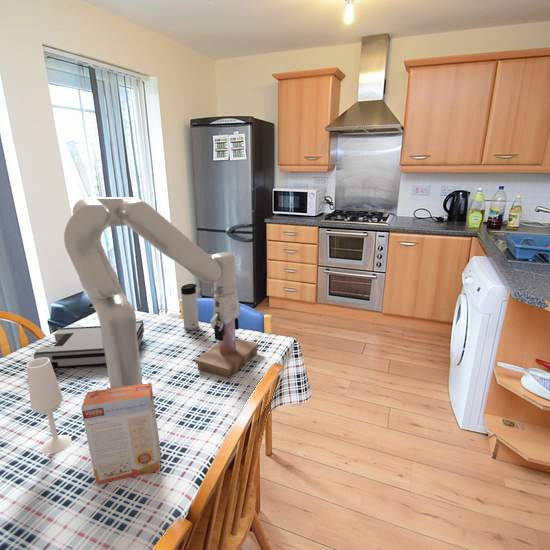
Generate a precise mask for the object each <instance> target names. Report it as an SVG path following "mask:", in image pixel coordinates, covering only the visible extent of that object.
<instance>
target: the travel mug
mask: <svg viewBox="0 0 550 550" xmlns="http://www.w3.org/2000/svg"><path fill="white" fill-rule="evenodd" d="M180 293H181V294H180V295H181V305H182V306H181V307H182V316H183V317H182V319H183V329H184V330H185V331H188V332H193V331H196V330H198V329H199V327H200V326H199V325H200V324H199V323H200V322H199V311H198V296H197V283H196V284H195V283H187V284H184V285H182V286H181V287H180Z"/></svg>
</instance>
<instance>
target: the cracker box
mask: <svg viewBox="0 0 550 550" xmlns="http://www.w3.org/2000/svg"><path fill="white" fill-rule="evenodd" d="M153 393H154V392H153V385H152V382H148V383H145V384H138V385H131V386H125V387H118V388H112V389H107V388H104V389H98V390H93V391H87V392H86V394H85V397H84V400H83V402H82V405H81V407H80V408H81V413H82V419H83V422H84V424H83V425H84V429H85V434H86V439H87V444H88V449H89V454H90V455H89V456H90V460H91V465H92V469H93V474H94V479H95V483H96V484H102V483H107V482H113V481H116V480H121V479H126V478H131V477H136V476H139V475H140V476H141V475H145V474H150V473H153V472H154V473H155V472H159V471H161V469H160V468H161V455H162V452H161V445H160V436H159V430H158V422H157V416H156V407H155V401H154V400H155V399H154V394H153Z"/></svg>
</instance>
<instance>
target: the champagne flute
mask: <svg viewBox="0 0 550 550" xmlns="http://www.w3.org/2000/svg"><path fill="white" fill-rule="evenodd" d="M25 366H26V372H27V382H28V383H27V384H28V392H29V400H30V401H29V402H30V407H31V409H32V410H33V411H34V412H35V413H38V414H40V415H45V416H47V419H48V424H49V427H50V433H51V437H52V438H50V439H48V440H47V441H46V442H45V443H44V444H43V445H42V447H43V448H42V447H41V451H42V450H43V452H44V453H43V452H42V453H43V454H45V453H47V454H46V455H53V454H54V453H55V454H58V453H60V452H62V451H64V450H65V449H68V448H67V447H69V446H70V444H71V443H72V437H71V436H70V435H67V434H61V435H60V434H59V435H58V430H57V426H56V423H55V418H54V412H55V411H56V410H57V409H58V408H59V407H60V406H61V404H62V402H63V398H64V397H63V394H62V391H61V388H60V385H59V382H58V379H57V376H56V373H55V369H54V368H53V366H52V365H51V362H50V359H49V358H46V357H43V358H37V359H34V358H33V359H32V360H30V361H29V362H27V363H26V365H25ZM57 452H58V453H57ZM48 453H49V454H48Z"/></svg>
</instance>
